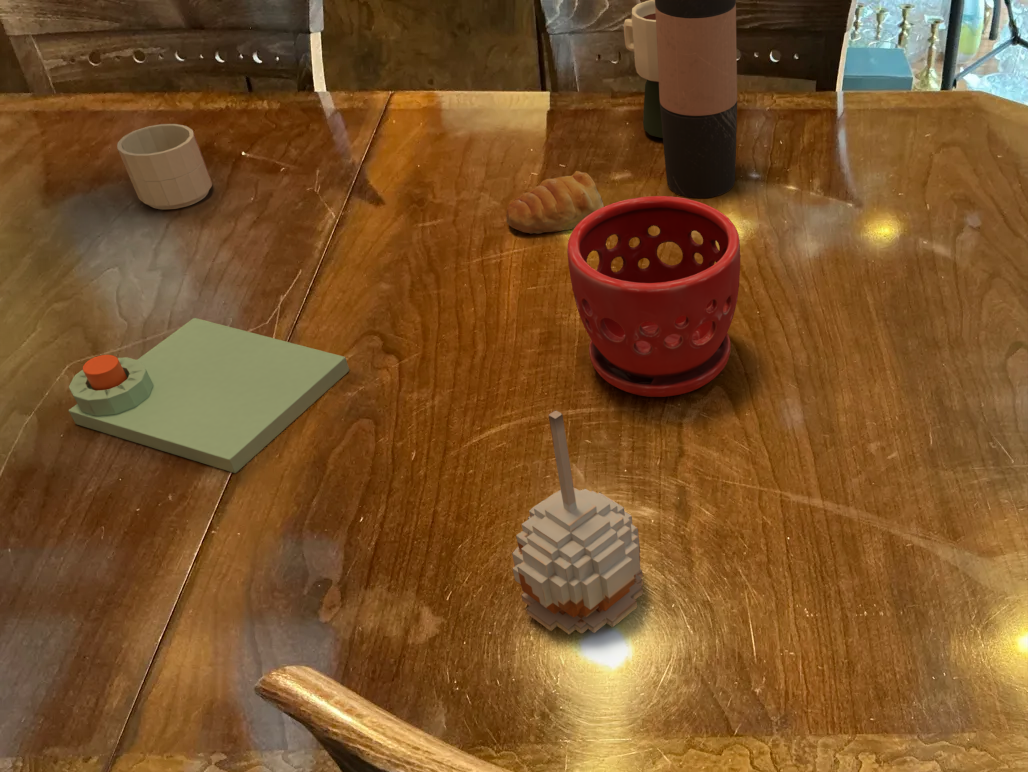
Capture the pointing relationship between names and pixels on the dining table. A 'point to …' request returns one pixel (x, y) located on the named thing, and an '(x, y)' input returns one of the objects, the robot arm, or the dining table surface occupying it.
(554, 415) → the candy apple
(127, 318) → the dining table surface
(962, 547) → the dining table surface
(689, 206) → the flower pot
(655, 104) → the character mug
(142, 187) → the white cup
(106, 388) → the tare button
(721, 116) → the travel mug
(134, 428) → the scale
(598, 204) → the pastry
